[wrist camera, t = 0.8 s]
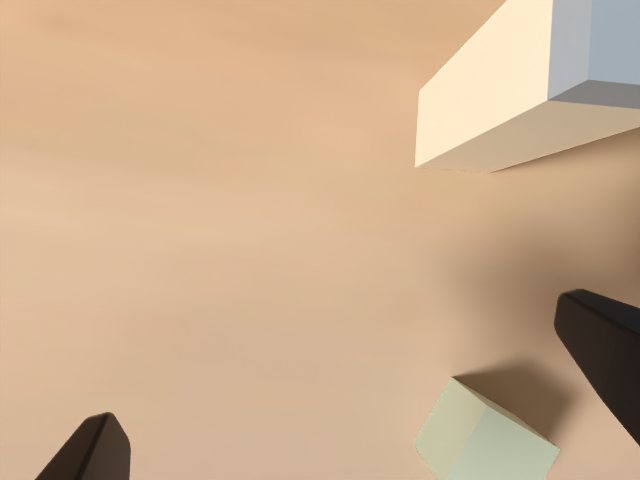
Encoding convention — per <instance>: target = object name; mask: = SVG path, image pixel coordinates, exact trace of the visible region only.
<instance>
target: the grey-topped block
mask: <svg viewBox="0 0 640 480" xmlns="http://www.w3.org/2000/svg"><path fill="white" fill-rule="evenodd" d="M638 127H640V0H507V1H506V2H505V3H504V4H503V5H502V6H501V7H500V8H499V9H498V10H497V11H496V12H495V13H494V15H493V16H492V17H491V18H490V19H489V20H488V21H487V22H486V23H485V24H484V25H483V26H482V27H481V28H480V29H479V30H478V31H477V32H476V33H475V34H474V35H473V36H472V37H471V38H470V39H469V40H468V41H467V42H466V43H465V45H464V46H463V47H462V48H461V49H460V50H459V51H458V52H457V53H456V54H455V55H454V56H453V57H452V58H451V59H450V60H449V61H448V62H447V63H446V64H445V65H444V66H443V67H442V68H441V69H440V70H439V71H438V72H437V74H436V75H435V76H434V77H433V78H432V79H431V80H430V81H429V82H428V83H427V84H426V85H425V86H424V87H423V88H422V89H421V90H420V91H419V105H418V122H417V139H416V157H415V168H424V169H438V170H451V171H464V172H477V173H491V172H494V171H497V170H501V169H504V168H507V167H510V166H514V165H517V164H520V163H523V162H527V161H530V160H533V159H537V158H540V157H543V156H546V155H550V154H553V153H556V152H559V151H563V150H566V149H569V148H573V147H576V146H579V145H582V144H586V143H589V142H592V141H595V140H599V139H602V138H605V137H609V136H612V135H615V134H618V133H622V132H625V131H628V130H631V129H635V128H638Z"/></svg>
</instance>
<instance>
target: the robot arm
mask: <svg viewBox="0 0 640 480" xmlns="http://www.w3.org/2000/svg"><path fill="white" fill-rule="evenodd" d="M554 328H555V331H556V333H557V335H558V337H559V338H560V340H561V341H562V343H563V344H564V346H565V347H566V349H567V350H568V351H569V353H570V354H571V356H572V357H573V359H574V360H575V362H576V363H577V365H578V366H579V368H580V369H581V371H582V372H583V374H584V375H585V377H586V378H587V380H588V381H589V382H590V384H591V385H592V387H593V388H594V390H595V391H596V393H597V394H598V395H599V397H600V398H601V399H602V401H603V402H604V403H605V405H606V406H607V407H608V408H609V410H610V411H611V412H612V413H613V414H614V416H615V417H616V418H617V419H618V421H619V422H620V423H621V424H622V425H623V427H624V428H625V429H626V430H627V431H628V433H629V434H630V435H631V436H632V437H633V439H634V440H635V441H636V442H637V444H638V445H639V446H640V308H637V307H634V306H631V305H628V304H625V303H622V302H619V301H616V300H614V299H611V298H608V297H605V296H602V295H599V294H596V293H593V292H590V291H587V290H584V289H575V290H571V291H567V292H563V293H561V294H560V295H559V297H558V300H557V307H556V313H555V319H554ZM130 456H131V448H130V442H129V439H128V437H127V435H126V434H125V432H124V430H123V429H122V427H121V425H120V424H119V422H118V420H117V419H116V417H115V416H114V414H112V413H110V412H106V413H102V414H98V415H94V416H91V417H88V418H87V419H85V420H84V421H83V422H82V424H81V425H80V426H79V427H78V428H77V430H76V431H75V432H74V433H73V434H72V436H71V437H70V438H69V439H68V440H67V442H66V443H65V444H64V445H63V446H62V448H61V449H60V450H59V451H58V452H57V454H56V455H55V456H54V457H53V458H52V460H51V461H50V462H49V463H48V464H47V466H46V467H45V468H44V469H43V470H42V472H41V473H40V474H39V475H38V476H37V478H36V479H35V480H129V477H130Z"/></svg>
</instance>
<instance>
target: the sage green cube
mask: <svg viewBox="0 0 640 480" xmlns="http://www.w3.org/2000/svg"><path fill="white" fill-rule="evenodd" d="M413 444H414V446H415V447H416V449H417V450H418V452H419V453H420V455H421V456H422V458H423V459H424V461H425V462H426V464H427V465H428V467H429V468H430V470H431V471H432V473H433V474H434V476H435V477H436V479H437V480H544V479H545V477H546V475H547V473H548V472H549V470H550V468H551V466H552V464H553V463H554V461H555V459H556V457H557V455H558V454H559V452H560V450H561V449H559V448H558V447H557V446H555V445H554V444H553V443H551V442H550V441H549V440H547V439H546V438H545V437H543V436H542V435H541V434H539V433H538V432H537V431H535V430H534V429H533V428H531V427H530V426H529V425H527V424H526V423H525V422H523V421H522V420H521V419H519V418H518V417H517V416H515V415H514V414H513V413H511V412H509V411H508V410H506V409H504V408H503V407H501V406H499V405H498V404H496V403H494V402H493V401H491V400H489V399H487V398H486V397H484V396H482V395H481V394H479V393H477V392H476V391H474V390H472V389H471V388H469V387H467V386H466V385H464V384H462V383H461V382H459V381H457V380H456V379H454V378H452V377H451V378H450V380H449V382H448V383H447V385H446V387H445V389H444V390H443V392H442V394H441V396H440V397H439V399H438V401H437V402H436V404H435V406H434V408H433V409H432V411H431V413H430V415H429V416H428V418H427V420H426V421H425V423H424V425H423V427H422V428H421V430H420V432H419V434H418V435H417V437H416V439H415V440H414V442H413Z"/></svg>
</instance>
